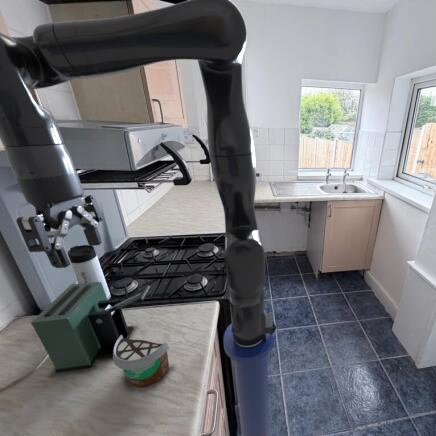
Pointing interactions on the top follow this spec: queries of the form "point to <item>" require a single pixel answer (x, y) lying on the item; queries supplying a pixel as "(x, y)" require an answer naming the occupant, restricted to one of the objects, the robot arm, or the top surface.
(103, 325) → the bracket
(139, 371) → the food container
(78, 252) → the travel mug
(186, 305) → the top surface
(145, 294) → the lever
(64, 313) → the toaster body
